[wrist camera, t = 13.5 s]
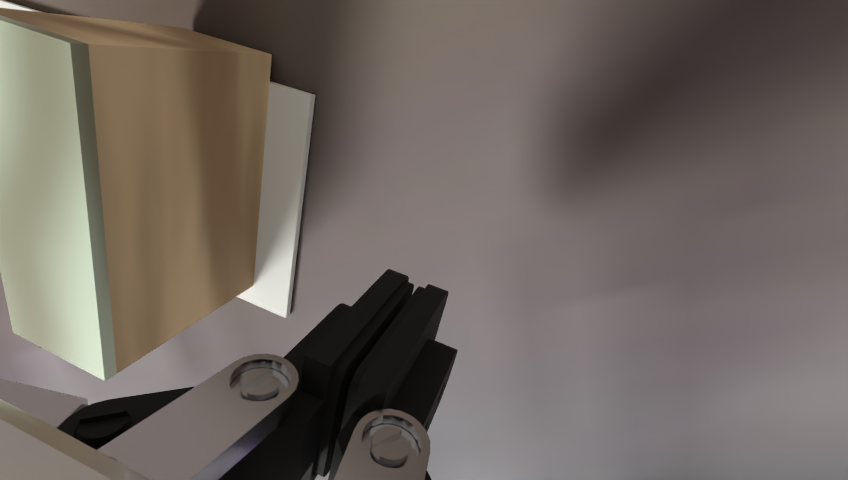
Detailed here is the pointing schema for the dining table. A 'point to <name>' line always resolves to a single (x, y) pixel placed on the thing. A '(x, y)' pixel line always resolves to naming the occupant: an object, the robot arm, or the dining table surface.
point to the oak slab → (124, 181)
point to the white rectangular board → (276, 193)
